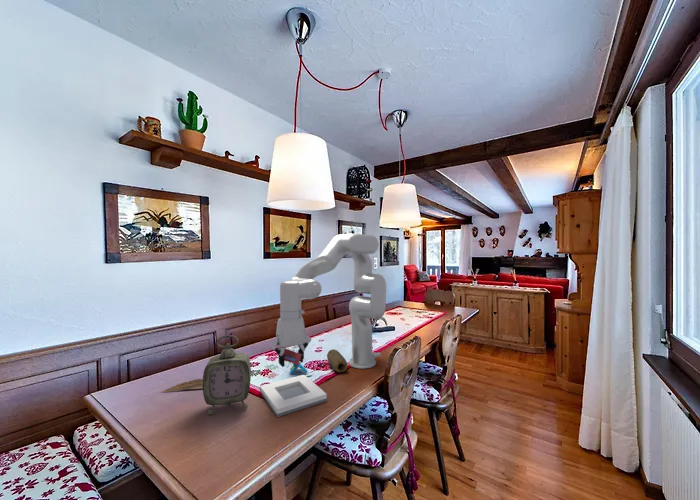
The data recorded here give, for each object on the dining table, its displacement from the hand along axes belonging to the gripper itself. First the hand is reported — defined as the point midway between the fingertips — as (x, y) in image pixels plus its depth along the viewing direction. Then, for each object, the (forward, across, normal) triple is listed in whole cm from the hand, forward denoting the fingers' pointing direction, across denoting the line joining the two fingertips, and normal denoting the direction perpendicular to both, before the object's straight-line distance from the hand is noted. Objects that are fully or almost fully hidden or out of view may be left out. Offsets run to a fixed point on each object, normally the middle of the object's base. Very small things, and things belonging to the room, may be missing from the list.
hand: (291, 363), depth 108 cm
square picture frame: (+12, 0, 0) cm, 12 cm away
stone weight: (+13, -27, -14) cm, 33 cm away
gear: (+13, -10, -19) cm, 25 cm away
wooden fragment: (+13, +28, -31) cm, 44 cm away
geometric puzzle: (+1, 0, 0) cm, 1 cm away
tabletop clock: (+13, +21, -5) cm, 25 cm away
